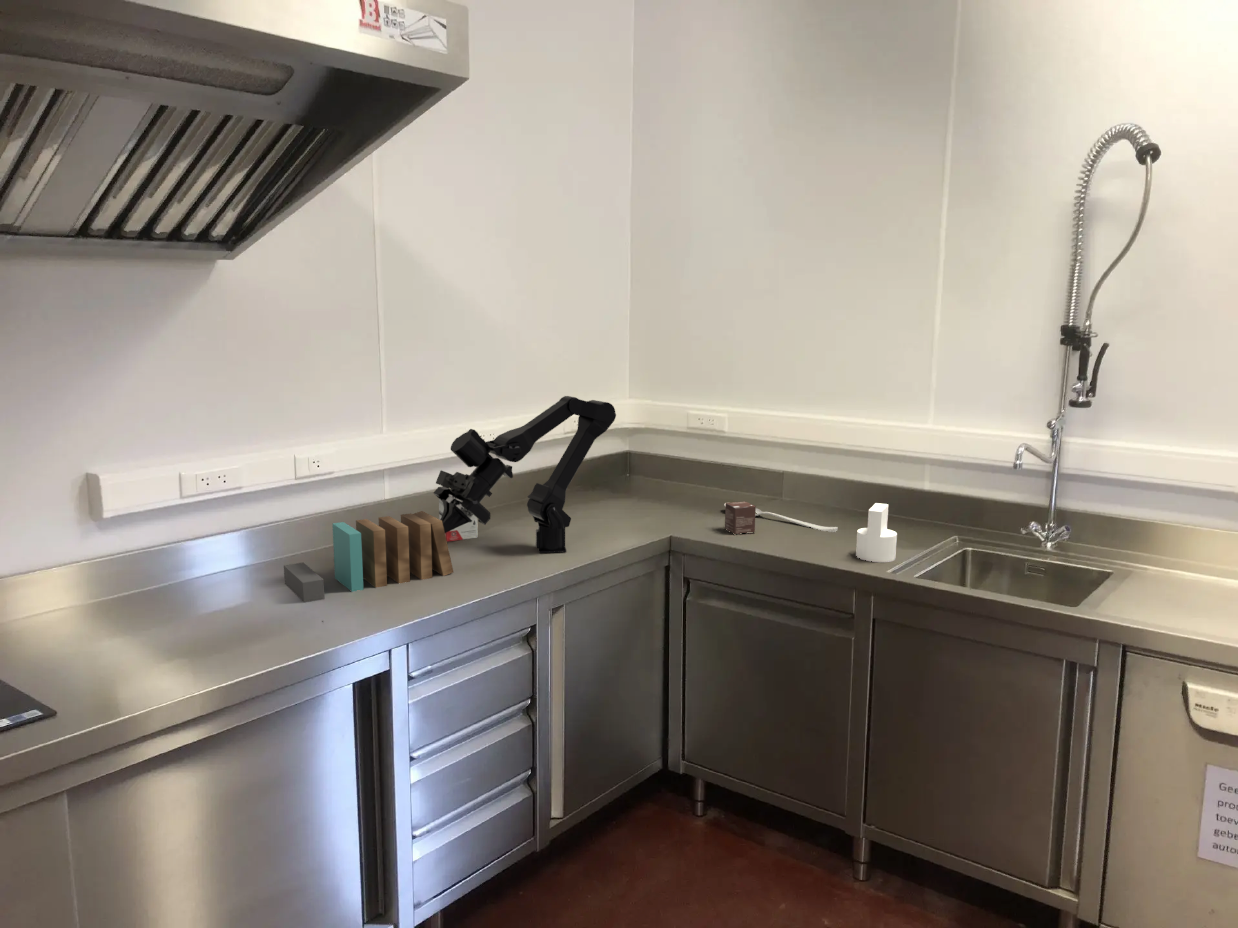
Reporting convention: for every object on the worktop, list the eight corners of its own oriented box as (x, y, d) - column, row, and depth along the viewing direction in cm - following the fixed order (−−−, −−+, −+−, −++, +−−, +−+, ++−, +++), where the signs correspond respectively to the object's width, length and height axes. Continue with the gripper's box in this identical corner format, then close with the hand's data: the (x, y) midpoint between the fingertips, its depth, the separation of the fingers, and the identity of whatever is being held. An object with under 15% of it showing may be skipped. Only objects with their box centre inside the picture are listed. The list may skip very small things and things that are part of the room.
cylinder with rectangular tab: (860, 549, 220) (863, 501, 217) (898, 554, 216) (901, 505, 214) (852, 559, 212) (855, 508, 210) (891, 564, 208) (895, 513, 206)
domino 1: (346, 576, 195) (343, 521, 192) (363, 589, 186) (361, 533, 184) (334, 578, 193) (332, 523, 191) (351, 591, 184) (349, 534, 182)
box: (745, 528, 240) (746, 501, 238) (755, 533, 234) (756, 506, 233) (724, 529, 238) (724, 502, 236) (733, 535, 232) (734, 507, 231)
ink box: (446, 542, 222) (445, 495, 220) (438, 537, 227) (437, 491, 224) (478, 537, 227) (477, 491, 225) (470, 533, 231) (469, 488, 229)
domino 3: (391, 568, 200) (389, 516, 198) (409, 581, 191) (408, 526, 189) (380, 570, 199) (378, 517, 197) (399, 583, 190) (397, 528, 188)
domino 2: (368, 572, 197) (366, 518, 195) (387, 585, 188) (385, 529, 186) (358, 574, 196) (355, 520, 194) (375, 587, 187) (373, 531, 185)
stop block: (304, 580, 191) (303, 562, 190) (324, 598, 180) (323, 579, 179) (284, 583, 189) (283, 565, 188) (303, 602, 177) (302, 582, 177)
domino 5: (433, 560, 206) (421, 510, 202) (453, 572, 197) (442, 520, 193) (423, 563, 204) (411, 514, 201) (443, 575, 196) (431, 524, 192)
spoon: (717, 513, 256) (717, 504, 256) (732, 508, 262) (733, 499, 262) (828, 540, 234) (829, 530, 234) (843, 534, 240) (844, 524, 239)
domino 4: (412, 565, 203) (411, 513, 201) (432, 577, 194) (430, 523, 192) (402, 567, 202) (400, 514, 199) (421, 579, 193) (420, 524, 191)
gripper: (441, 451, 207) (395, 503, 203) (476, 463, 192) (428, 520, 187) (472, 481, 213) (429, 533, 208) (510, 496, 197) (464, 552, 193)
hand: (436, 534), depth 199 cm, fingers closed
